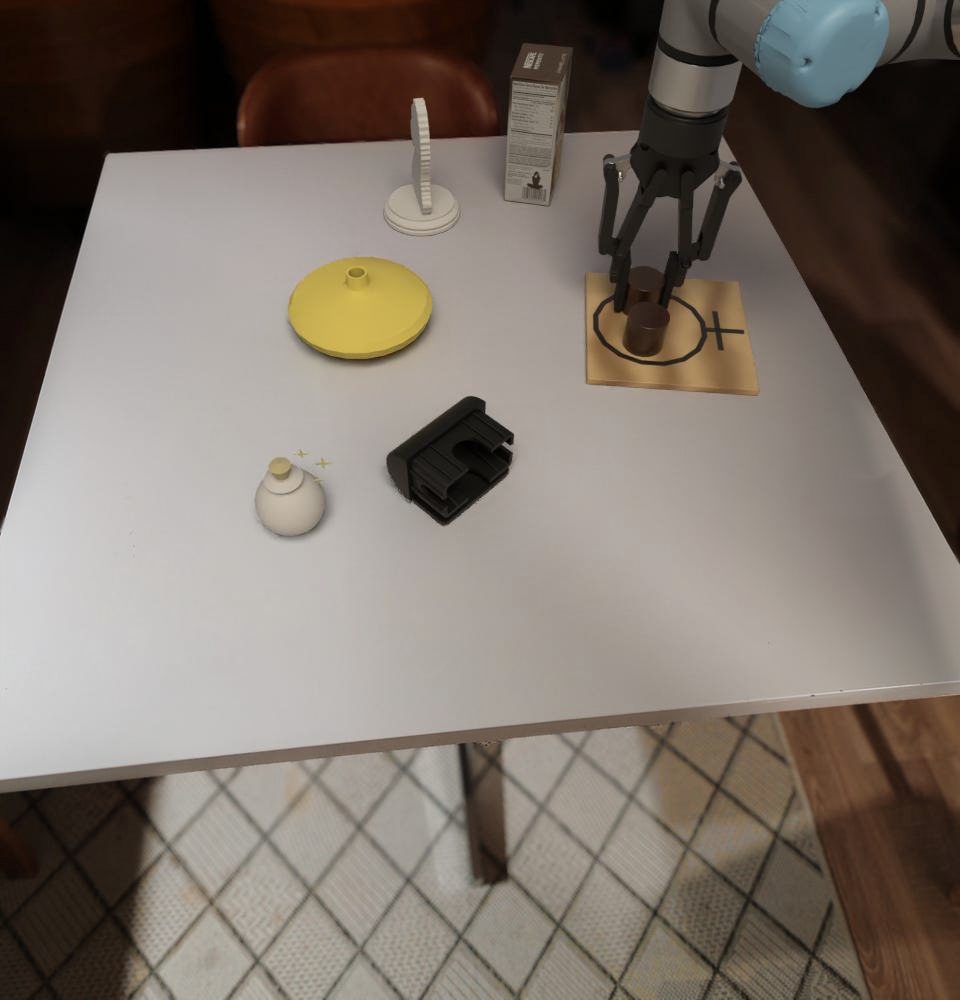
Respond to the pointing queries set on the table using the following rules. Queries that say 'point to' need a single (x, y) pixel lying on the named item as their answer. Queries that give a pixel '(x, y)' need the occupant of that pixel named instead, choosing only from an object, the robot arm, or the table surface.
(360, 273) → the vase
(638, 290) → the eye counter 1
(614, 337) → the drawing board
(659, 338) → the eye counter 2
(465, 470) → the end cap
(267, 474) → the ornament
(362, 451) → the table surface
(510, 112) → the coffee box
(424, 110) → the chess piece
